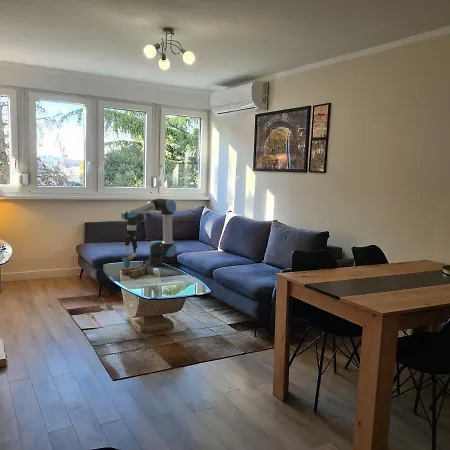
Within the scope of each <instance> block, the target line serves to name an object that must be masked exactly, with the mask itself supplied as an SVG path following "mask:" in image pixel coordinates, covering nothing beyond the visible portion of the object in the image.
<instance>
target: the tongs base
mask: <svg viewBox="0 0 450 450" xmlns="http://www.w3.org/2000/svg"><path fill="white" fill-rule="evenodd" d="M139 268H144V267H142V266H134V267H129V268H123V267H122V268H121V273H120V274H121V275H123V276H125V275H129V271H130V270H135V269H139ZM146 274H148V273H147V268H146Z"/></svg>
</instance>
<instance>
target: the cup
mask: <svg viewBox="0 0 450 450" xmlns="http://www.w3.org/2000/svg"><path fill="white" fill-rule="evenodd" d="M117 256H122V268H131V261H132V260H134V257H135V256H132V254H128V256H127V257H126V256H125V257H124V255H123V253H118V254H117Z"/></svg>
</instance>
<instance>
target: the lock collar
mask: <svg viewBox="0 0 450 450" xmlns="http://www.w3.org/2000/svg"><path fill="white" fill-rule="evenodd" d="M141 267H144V268H147V273H146V274H153V273H154V266H151V265H150V262H149V261H148V260H145V264H141Z"/></svg>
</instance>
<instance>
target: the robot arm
mask: <svg viewBox="0 0 450 450" xmlns="http://www.w3.org/2000/svg"><path fill="white" fill-rule="evenodd" d="M155 211H156V212H160V215H162V240H152V241H151V242H150V243H149V257H148V260H147V261H149V262H150V265H151V266H153V267H162V266H164V260H163V256H165V257H174V256H175V254H176V252H177V251H178V250H177V249H178V248H177V245H176V244H175V242H174V240H173V215H175V212H176V211H177V204H176V202H175V201H174V200H173V199H169V198H156V199H152V200H150V201H147V203H145V204H143V205H140V206H137V207H136V208H133V209H131V210H128V211H127V210H126V211H125V210H124V211H122V212H121V214H120V215H121V216H120V217H121V219H122V220H124V221H127V223H126V224H127V225H126V237H125V240H124V245H125V252H124V253H125V254H129V253H130V251H129V250H130V243H131V246H132V254H131V255H132V256H133V257H136V256H137V255H136V254H137V249H138V243H137V236H135V235H137V223H143V222H146V220H147V218H148V217H147V213H151V212H155Z"/></svg>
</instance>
